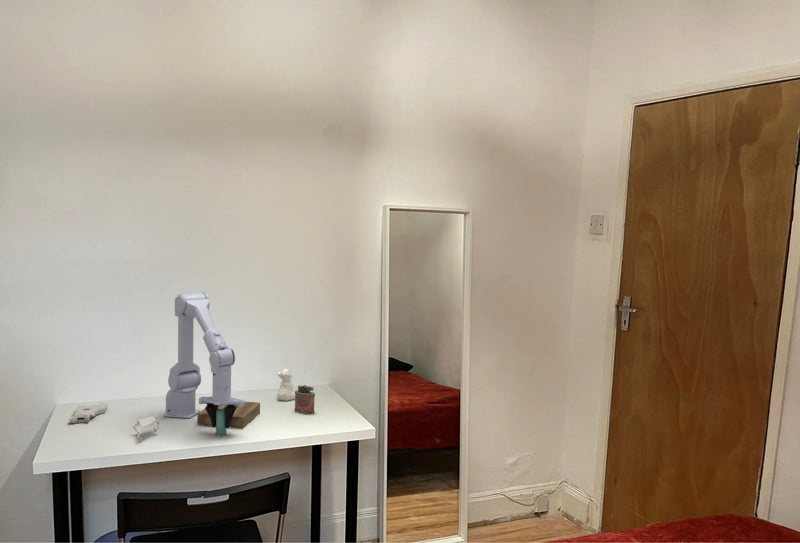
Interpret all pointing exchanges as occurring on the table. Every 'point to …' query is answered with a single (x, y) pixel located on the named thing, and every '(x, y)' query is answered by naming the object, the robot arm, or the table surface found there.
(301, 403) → the lighter
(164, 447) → the table surface
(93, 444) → the table surface
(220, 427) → the peg
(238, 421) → the socket block
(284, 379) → the white creature statuette
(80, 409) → the gun
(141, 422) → the origami figure
